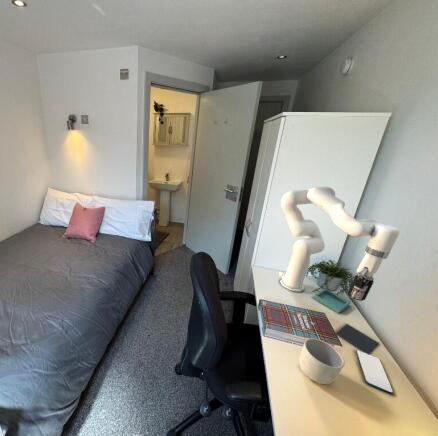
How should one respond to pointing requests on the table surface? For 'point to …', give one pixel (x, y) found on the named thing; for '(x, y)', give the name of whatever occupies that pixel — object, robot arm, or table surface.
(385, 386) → the smartphone
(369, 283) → the beverage can
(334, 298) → the tray
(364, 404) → the table surface
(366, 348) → the mat
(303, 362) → the planter
